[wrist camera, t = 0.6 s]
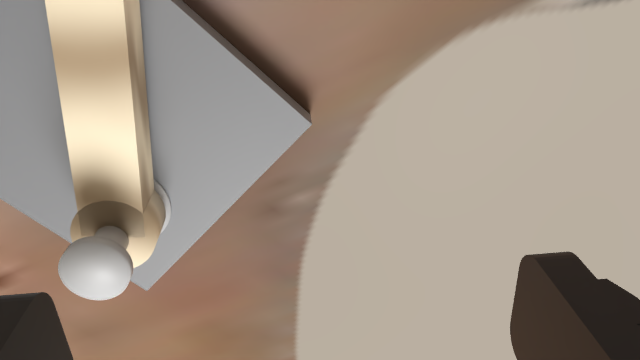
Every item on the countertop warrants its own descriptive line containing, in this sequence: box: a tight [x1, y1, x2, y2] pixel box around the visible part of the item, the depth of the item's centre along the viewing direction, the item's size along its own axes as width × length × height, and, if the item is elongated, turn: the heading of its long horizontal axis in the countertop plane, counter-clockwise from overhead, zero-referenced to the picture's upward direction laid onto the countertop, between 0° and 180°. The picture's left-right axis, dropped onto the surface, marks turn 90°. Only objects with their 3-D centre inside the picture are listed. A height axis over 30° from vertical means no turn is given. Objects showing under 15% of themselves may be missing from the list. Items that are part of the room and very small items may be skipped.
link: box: [45, 0, 166, 268], centre depth 23 cm, size 18×4×2 cm, turn 176°
